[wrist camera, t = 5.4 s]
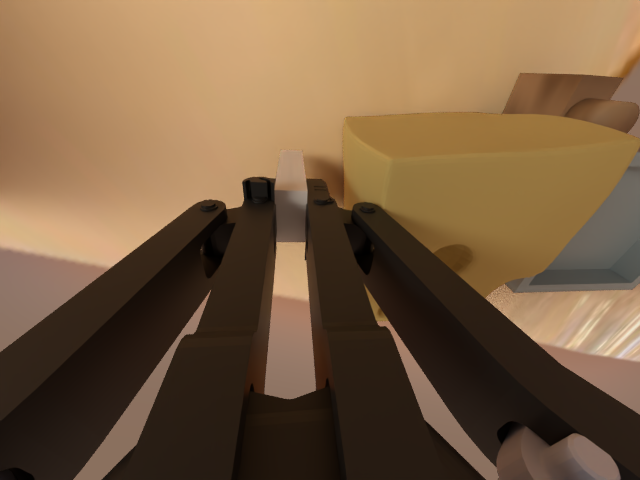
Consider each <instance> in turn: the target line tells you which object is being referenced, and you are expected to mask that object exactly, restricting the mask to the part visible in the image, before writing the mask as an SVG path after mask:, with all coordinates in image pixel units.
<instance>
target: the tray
mask: <svg viewBox="0 0 640 480" xmlns="http://www.w3.org/2000/svg"><path fill="white" fill-rule="evenodd" d="M639 283H640V147H639V149H638V151H637V153H636V155H635V156H634V158H633V160H632V161H631V163H630V165H629V166H628V168H627V170H626V171H625V173H624V175H623V176H622V178H621V179H620V181H619V182H618V184H617V185H616V186H615V188H614V189H613V191H612V192H611V194H610V195H609V196H608V197H607V199H606V200H605V201H604V202H603V204H602V205H601V206H600V207H599V208H598V210H597V211H596V212H595V213H594V214H593V216H592V217H591V218H590V219H589V220H588V221H587V222H586V224H585V225H584V226H583V227H582V228H581V229H580V230H579V231H578V232H577V233H576V235H575V236H574V237H573V238H572V239H571V240H570V241H569V242H568V244H567V245H566V246H565V247H564V249H563V250H562V251H561V252H560V254H559V255H558V256H557V257H556V258H555V260H554V261H553V262H552V263H551V264H550V265H549V266H548V267H547V268H546V269H545V270H544V271H543V272H541V273H539V274H536V275H535V276H533V277H529V278H528V277H526V278H520V279H515V280H512V281H509V282H507V283H505V284H506V285H507V286H508V287H509V288H510V289H511V290H512V291H513V292H514V293H522V292H558V291H595V290H632V289H634V288H635V287H636V286H637V285H638V284H639Z"/></svg>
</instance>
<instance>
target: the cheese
mask: <svg viewBox="0 0 640 480" xmlns="http://www.w3.org/2000/svg"><path fill="white" fill-rule="evenodd" d="M639 147H640V139H639V138H637V137H635V136H632V135H629V134H626V133H624V132H621V131H618V130H615V129H612V128H609V127H605V126H602V125H598V124H594V123H591V122H586V121H582V120H578V119H572V118H567V117H561V116H553V115H540V114H487V113H479V112H453V113H417V114H400V115H385V116H363V117H346V118H345V119H344V126H343V169H344V207H343V209H346V210H352V208H353V205H354V204H356V203H360V202H368V203H369V202H370V203H373V204H375V205H377V206H379V207H380V208H382V209H383V210H384V211H385V212H386V213H387V214H389V215H390V216H391V217H392V218H393V219H394V220H395V221H397V222H398V223H399V224H400V225H401V226H402V227H403V228H405V229H406V230H407V231H408V232H409V233H410V234H411V235H413V236H414V237H415V238H416V239H417V240H418V241H420V242H421V243H422V244H423V245H424V246H425V247H426V248H428V249H429V250H430V251H431V252H432V253H433V254H434V255H436V256H437V257H438V258H439V259H440V260H441V261H443V262H444V263H445V264H446V265H447V266H448V267H449V268H451V269H452V270H453V271H454V272H455V273H456V274H457V275H459V276H460V277H461V278H462V279H463V280H464V281H466V282H467V283H468V284H469V285H470V286H471V287H472V288H474V289H475V290H476V291H477V292H478V293H479V294H480V295H482V296H483V297H484V298H486V297H487V296H488V295H489V294H490V293H491V292H492V291H493V290H495V289H496V288H498V287H499V286H501V285H503V284H505V283H507V282H509V281H512V280H515V279H520V278H526V277H528V278H529V277H533V276H535V275H536V274H539V273H541V272H543V271H544V270H545V269H546V268H547V267H548V266H549V265H550V264H551V263H552V262H553V261H554V260H555V258H556V257H557V256H558V255H559V254H560V252H561V251H562V250H563V249H564V247H565V246H566V245H567V244H568V242H569V241H570V240H571V239H572V238H573V237H574V236H575V235H576V233H577V232H578V231H579V230H580V229H581V228H582V227H583V226H584V225H585V224H586V222H587V221H588V220H589V219H590V218H591V217H592V216H593V214H594V213H595V212H596V211H597V210H598V208H599V207H600V206H601V205H602V204H603V202H604V201H605V200H606V199H607V197H608V196H609V195H610V194H611V192H612V191H613V189H614V188H615V186H616V185H617V184H618V182H619V181H620V179H621V178H622V176H623V175H624V173H625V171H626V170H627V168H628V166H629V165H630V163H631V161H632V160H633V158H634V156H635V155H636V153H637V151H638V149H639ZM364 286H365V285H364ZM365 289H366V292H367V295H368V298H369V301H370V304H371V307H372V310H373V313H374V316H375V319H376V321H389V320H388V319H387V317H386V316H385V314H384V313H383V311H382V310H381V308H380V307H379V306H378V304H377V303H376V301H375V300H374V298H373V297H372V295H371V294H370V292H369V291H368V289H367V288H366V286H365Z"/></svg>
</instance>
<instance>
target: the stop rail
mask: <svg viewBox="0 0 640 480" xmlns="http://www.w3.org/2000/svg"><path fill="white" fill-rule="evenodd" d="M622 80H623V78H618V77H606V76H593V75H573V74H534V73H520V75H519V77H518V79H517V82H516V84H515V86H514V88H513V91H512V93H511V95H510V98H509V100H508V102H507V105H506V107H505V109H504V111H503V114H540V115H553V116H561V117H567V118H572V119H578V120H582V121H586V122H591V123H594V124H598V125H602V126H605V127H609V128H612V129H615V130H618V131H621V132H624V133H626V134H627V133H628V132H629V131H630V129H631V128H632V127H633V126H634V124H635V122H636V121H637V119H638V116H639V106H638V105H637V104H635V103H632V102H622V101H613V100H610V98H611V97H612V95H613V94H614V92H615V91H616V89H617V88H618V86H619V84H620V83H621V81H622Z"/></svg>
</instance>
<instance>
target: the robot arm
mask: <svg viewBox="0 0 640 480" xmlns="http://www.w3.org/2000/svg"><path fill="white" fill-rule="evenodd" d="M242 184H243V193H244V202H243V205H242V206H241V207H238V208H232V209H226V205H225V203H223V202H222V201H218V200H204V201H202V202H198V203H196V204H194V205H193V206H192V207H190V208H189V209H188V210H186V211H185V212H184V213H182V214H181V215H180V216H179V217H177V218H176V219H175V220H173V221H172V222H171V223H169V224H168V225H167V226H165V227H164V228H163V229H161V230H160V231H159V232H158V233H156V234H155V235H154V236H152V237H151V238H150V239H148V240H147V241H146V242H144V243H143V244H142V245H140V246H139V247H138V248H137V249H135V250H134V251H133V252H131V253H130V254H129V255H127V256H126V257H125V258H123V259H122V260H121V261H119V262H118V263H117V264H116V265H114V266H113V267H112V268H110V269H109V270H108V271H106V272H105V273H104V274H103V275H101V276H100V277H99V278H97V279H96V280H95V281H93V282H92V283H91V284H89V285H88V286H87V287H85V288H84V289H83V290H81V291H80V292H79V293H77V294H76V295H75V296H74V297H72V298H71V299H70V300H68V301H67V302H66V303H64V304H63V305H62V306H60V307H59V308H58V309H57V310H55V311H54V312H53V313H51V314H50V315H49V316H47V317H46V318H45V319H43V320H42V321H41V322H39V323H38V324H37V325H35V326H34V327H33V328H32V329H30V330H29V331H28V332H26V333H25V334H24V335H22V336H21V337H20V338H19V339H17V340H16V341H14V342H13V343H12V344H11V345H9V346H8V347H7V348H5V349H4V350H3V351H1V352H0V480H73V479H74V478H75V477H76V475H77V474H78V473H79V472H80V471H81V469H82V468H83V467H84V466H85V464H86V463H87V462H88V460H89V459H90V458H91V456H92V455H93V454H94V453H95V451H96V450H97V449H98V447H99V446H100V444H101V443H102V442H103V441H104V439H105V438H106V436H107V435H108V434H109V432H110V431H111V429H112V428H113V426H114V425H115V424H116V422H117V421H118V420H119V418H120V417H121V415H122V414H123V413H124V411H125V410H126V408H127V407H128V406H129V404H130V403H131V401H132V400H133V399H134V397H135V396H136V394H137V393H138V391H139V390H140V389H141V387H142V386H143V384H144V383H145V382H146V380H147V379H148V377H149V376H150V375H151V373H152V372H153V370H154V369H155V368H156V366H157V365H158V363H159V362H160V361H161V359H162V358H163V356H164V355H165V353H166V352H167V351H168V349H169V348H170V346H171V345H172V344H173V342H174V341H175V340H176V338H177V337H178V335H179V334H180V333H181V331H182V329H183V328H184V327H185V325H186V324H187V323H188V321H189V320H190V318H191V317H192V316H193V314H194V312H195V311H196V310H197V309H198V307H199V306H200V304H201V303H202V302H203V300H204V299H205V297H206V296H207V295H208V293H209V292H210V290H211V292H210V295H209V298H208V301H207V303H206V306H205V309H204V311H203V314H202V317H201V319H200V322H199V325H198V328H197V330H196V332H195V333H194V334H191V335H190V334H189V335H185V336H184V337H183V338H182V339H181V341H180V343H179V345H178V347H177V349H176V351H175V353H174V356H173V358H172V361H171V363H170V366H169V368H168V370H167V373H166V375H165V378H164V380H163V382H162V385H161V387H160V390H159V392H158V395H157V397H156V399H155V402H154V404H153V407H152V409H151V411H150V414H149V416H148V419H147V421H146V424H145V426H144V428H143V431H142V434H141V436H140V438H139V440H138V443H137V445H136V446H135V447H134V448H133V449H132V450H131V451H130V452H129V453H128V454H127V455H126V456H125V457H124V458H123V459H122V460H121V461H120V462H119V463H118V464H117V465H116V466H115V467H114V468H113V469H112V470H111V471H110V472H109V473H108V474H107V475H106V476H105V477H104V478H103V479H102V480H486V479H485V478H484V477H483V476H481V475H480V474H479V473H478V472H477V471H476V470H475V469H474V468H473V467H472V466H471V465H470V464H469V463H468V462H467V461H466V460H465V459H464V458H463V457H462V456H461V455H460V454H459V453H458V452H457V451H456V450H455V449H454V448H453V447H452V446H451V445H450V444H449V443H448V442H447V441H446V440H445V439H444V438H443V437H442V436H441V435H440V434H439V433H438V432H437V431H436V430H435V429H434V428H432V427H431V425H429V424H428V423H427V422H426V421H425V420H424V418H423V415H422V413H421V410H420V407H419V405H418V402H417V399H416V397H415V394H414V391H413V389H412V386H411V383H410V381H409V378H408V375H407V373H406V370H405V368H404V365H403V363H402V360H401V357H400V354H399V352H398V350H397V346H396V344H395V341H394V339H393V336H392V334H391V332H390V330H389V329H388V328H387V327H385V326H384V327H380V326H379V325H378V324H377V321H376V319H375V316H374V313H373V310H372V307H371V304H370V301H369V298H368V295H367V292H366V289H365V286H366V288H367V289H368V291H369V292H370V294H371V295H372V297H373V298H374V300H375V301H376V303H377V304H378V306H379V307H380V308H381V310H382V311H383V313H384V314H385V316H386V317H387V319H388V320H389V322H390V323H391V325H392V326H393V328H394V329H395V331H396V332H397V334H398V335H399V337H400V338H401V340H402V341H403V342H404V344H405V345H406V347H407V348H408V350H409V351H410V353H411V354H412V356H413V357H414V359H415V360H416V362H417V363H418V365H419V366H420V368H421V369H422V371H423V372H424V374H425V375H426V377H427V378H428V379H429V381H430V382H431V384H432V385H433V387H434V388H435V390H436V391H437V393H438V394H439V396H440V397H441V399H442V400H443V402H444V403H445V405H446V406H447V408H448V409H449V411H450V412H451V413H452V415H453V416H454V417H455V419H456V420H457V422H458V423H459V424H460V426H461V427H462V428H463V430H464V431H465V432H466V434H467V435H468V436H469V437H470V438H471V440H472V441H473V442H474V443H475V444H476V446H478V448H479V449H480V450H481V451H482V453H483V454H484V455H485V456H486V457H487V458H488V459H489V460H490V461H491V462H492V463H493V464H494V465H495V466H496V467H497V472H498V476H499V478H498V480H640V415H639V414H638V413H636V412H635V411H633V410H632V409H630V408H628V407H627V406H625V405H624V404H622V403H621V402H619V401H617V400H616V399H614V398H613V397H611V396H609V395H608V394H606V393H605V392H603V391H602V390H600V389H599V388H597V387H595V386H594V385H592V384H590V383H589V382H587V381H586V380H584V379H583V378H581V377H579V376H578V375H576V374H575V373H573V372H572V371H570V370H569V369H567V368H565V367H564V366H562V365H561V364H560V363H558V362H557V361H556V360H555V359H554V358H553V357H552V356H551V355H549V354H548V353H547V352H546V351H545V350H544V349H542V348H541V347H540V346H539V345H538V344H537V343H536V342H534V341H533V340H532V339H531V338H530V337H529V336H528V335H526V334H525V333H524V332H523V331H522V330H521V329H520V328H518V327H517V326H516V325H515V324H514V323H513V322H511V321H510V320H509V319H508V318H507V317H506V316H505V315H503V314H502V313H501V312H500V311H499V310H498V309H497V308H495V307H494V306H493V305H492V304H491V303H490V302H488V301H487V300H486V299H485V298H484V297H483V296H482V295H480V294H479V293H478V292H477V291H476V290H475V289H474V288H472V287H471V286H470V285H469V284H468V283H467V282H466V281H464V280H463V279H462V278H461V277H460V276H459V275H457V274H456V273H455V272H454V271H453V270H452V269H451V268H449V267H448V266H447V265H446V264H445V263H444V262H443V261H441V260H440V259H439V258H438V257H437V256H436V255H434V254H433V253H432V252H431V251H430V250H429V249H428V248H426V247H425V246H424V245H423V244H422V243H421V242H420V241H418V240H417V239H416V238H415V237H414V236H413V235H411V234H410V233H409V232H408V231H407V230H406V229H405V228H403V227H402V226H401V225H400V224H399V223H398V222H397V221H395V220H394V219H393V218H392V217H391V216H390V215H389V214H387V213H386V212H385V211H384V210H383V209H382V208H380V207H379V206H377V205H375V204H373V203H370V202H369V203H368V202H360V203H356V204H354V205H353V208H352V210H346V209H342V208H339V207H338V206H337V203H336V201H335V199H333V198H331V197H330V195H329V191H328V188H327V185H326V182H324V181H323V180H322V179H306V175H305V168H304V160H303V152H302V151H301V150H280V155H279V162H278V169H277V175H276V179H273V178H266V177H251V178H247V179H245V180H244V181H243V182H242ZM305 240H306V245H305V260H306V262H307V275H308V288H309V301H310V314H311V327H312V340H313V353H314V366H315V379H316V391H314V392H311V393H309V394H306V395H303V396H300V397H297V398H295V399H283V398H278V397H274V396H269V395H265V394H264V388H265V375H266V364H267V352H268V340H269V328H270V317H271V305H272V294H273V283H274V271H275V259H276V242H305ZM364 285H365V286H364Z"/></svg>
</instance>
